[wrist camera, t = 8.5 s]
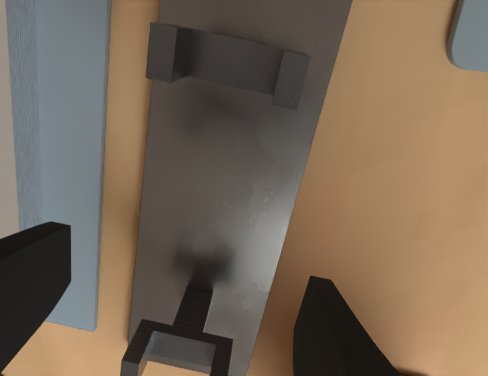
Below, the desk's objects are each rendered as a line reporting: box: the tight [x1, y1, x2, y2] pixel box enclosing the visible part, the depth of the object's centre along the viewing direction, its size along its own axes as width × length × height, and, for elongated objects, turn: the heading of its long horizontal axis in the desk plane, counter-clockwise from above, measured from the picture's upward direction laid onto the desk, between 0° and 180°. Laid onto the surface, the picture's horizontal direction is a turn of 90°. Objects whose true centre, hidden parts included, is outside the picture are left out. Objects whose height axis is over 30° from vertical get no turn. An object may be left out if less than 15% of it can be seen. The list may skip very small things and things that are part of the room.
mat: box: [36, 0, 111, 332], centre depth 20 cm, size 24×9×1 cm, turn 169°
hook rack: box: [120, 0, 352, 376], centre depth 17 cm, size 26×8×7 cm, turn 169°
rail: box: [0, 0, 42, 239], centre depth 19 cm, size 20×2×2 cm, turn 169°
